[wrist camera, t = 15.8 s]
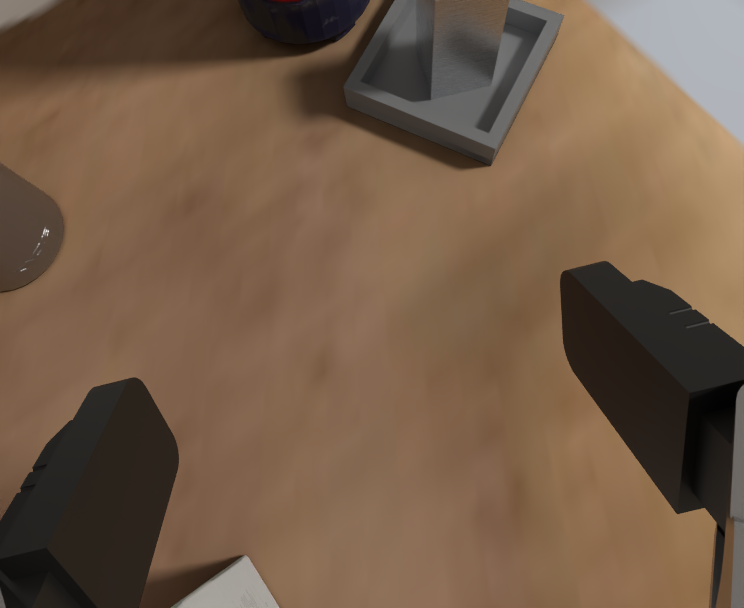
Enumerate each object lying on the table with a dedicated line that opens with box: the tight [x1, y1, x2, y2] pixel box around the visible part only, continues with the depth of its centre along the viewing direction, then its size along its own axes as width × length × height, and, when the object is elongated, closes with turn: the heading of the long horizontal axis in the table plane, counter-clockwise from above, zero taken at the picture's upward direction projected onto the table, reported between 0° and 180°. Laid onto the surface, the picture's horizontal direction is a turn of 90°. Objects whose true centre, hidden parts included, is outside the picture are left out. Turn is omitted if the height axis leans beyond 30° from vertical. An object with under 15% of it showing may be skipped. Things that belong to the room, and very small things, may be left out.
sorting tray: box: [343, 0, 564, 166], centre depth 43 cm, size 13×13×2 cm
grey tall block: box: [416, 0, 509, 100], centre depth 38 cm, size 5×5×10 cm
